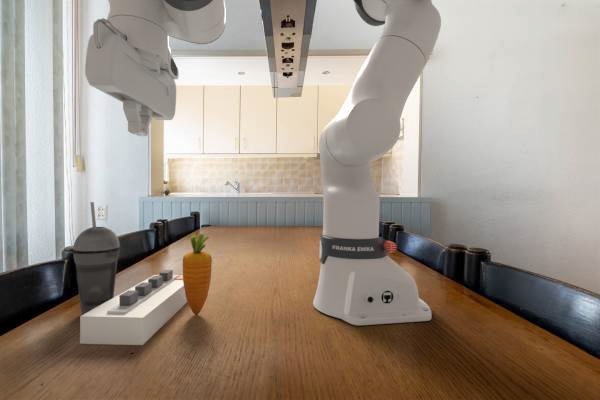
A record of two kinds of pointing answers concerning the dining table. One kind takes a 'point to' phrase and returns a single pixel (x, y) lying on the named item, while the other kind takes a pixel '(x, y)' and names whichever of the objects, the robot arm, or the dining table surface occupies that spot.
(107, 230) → the beverage cup
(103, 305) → the breaker panel
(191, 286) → the carrot
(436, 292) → the dining table surface
